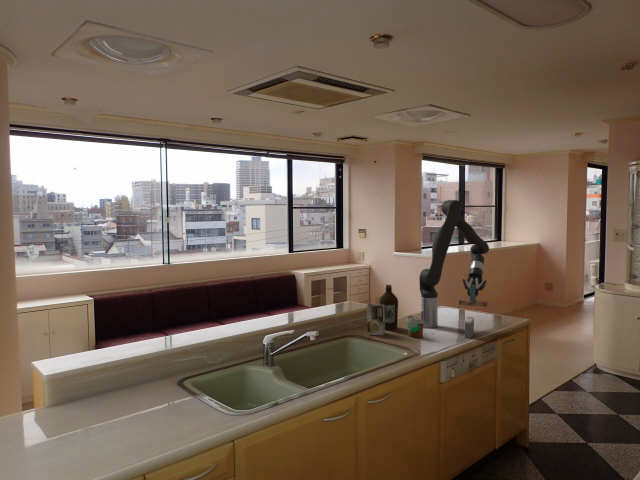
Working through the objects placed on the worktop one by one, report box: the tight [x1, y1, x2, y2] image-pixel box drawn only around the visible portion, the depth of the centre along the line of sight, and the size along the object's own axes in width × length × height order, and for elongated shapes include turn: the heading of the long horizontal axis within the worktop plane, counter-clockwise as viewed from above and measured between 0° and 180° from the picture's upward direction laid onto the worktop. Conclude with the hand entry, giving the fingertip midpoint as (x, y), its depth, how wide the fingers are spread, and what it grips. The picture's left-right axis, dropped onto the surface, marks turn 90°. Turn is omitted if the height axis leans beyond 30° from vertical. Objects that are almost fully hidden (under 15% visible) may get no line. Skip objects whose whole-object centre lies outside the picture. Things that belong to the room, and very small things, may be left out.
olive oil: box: [378, 284, 399, 331], centre depth 275 cm, size 11×11×25 cm
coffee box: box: [366, 303, 386, 336], centre depth 265 cm, size 9×6×16 cm
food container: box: [405, 315, 424, 339], centre depth 258 cm, size 12×6×10 cm, turn 21°
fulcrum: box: [464, 316, 475, 339], centre depth 257 cm, size 3×10×9 cm, turn 153°
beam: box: [458, 285, 488, 308], centre depth 269 cm, size 15×3×11 cm, turn 63°
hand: (472, 295), depth 267 cm, fingers closed on beam, 3 cm apart
